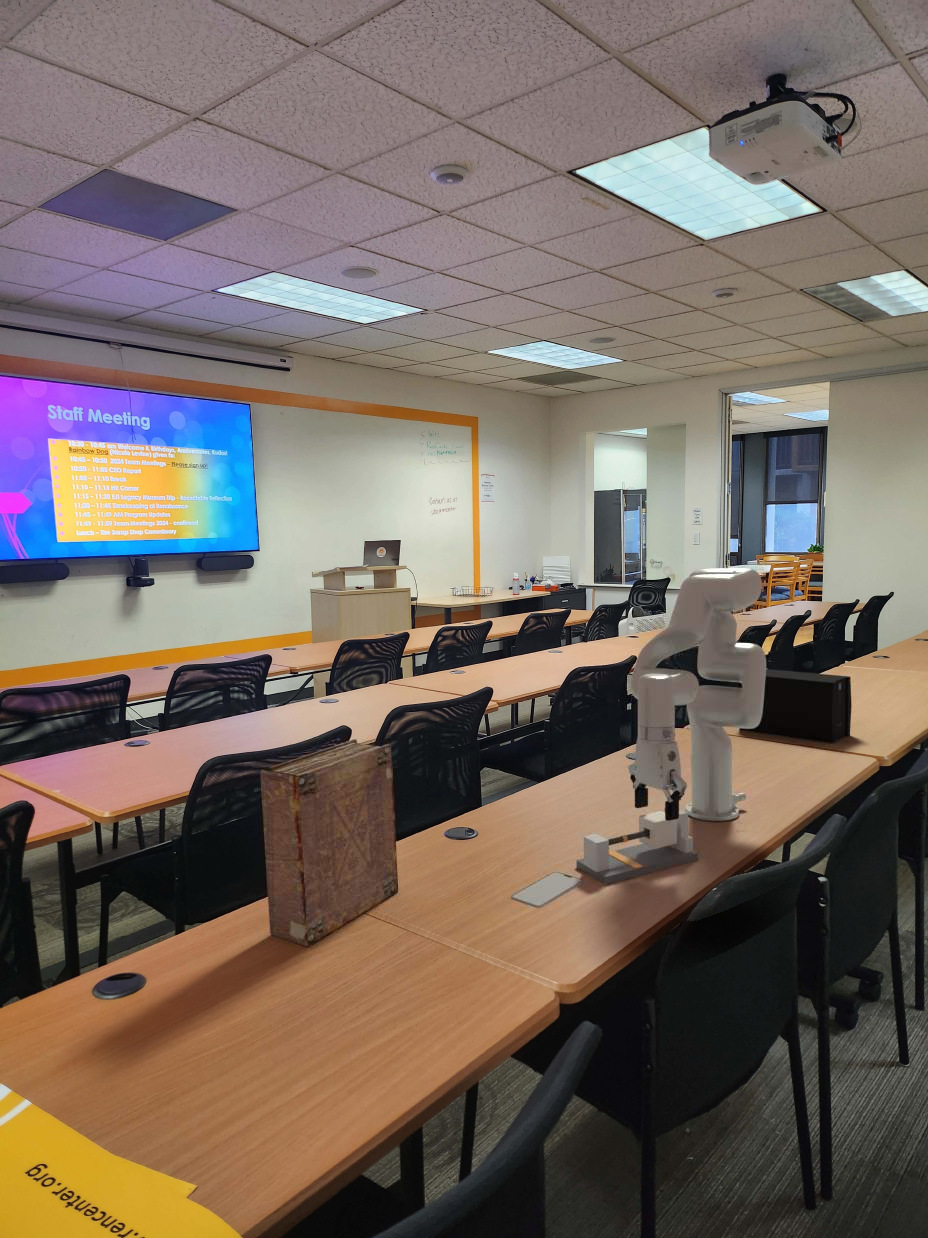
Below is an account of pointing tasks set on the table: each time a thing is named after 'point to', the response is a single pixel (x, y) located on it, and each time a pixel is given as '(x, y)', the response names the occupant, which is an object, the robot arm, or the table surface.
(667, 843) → the notched cream block
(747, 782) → the table surface
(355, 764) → the book
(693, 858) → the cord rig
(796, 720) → the uninterruptible power supply
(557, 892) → the smartphone
